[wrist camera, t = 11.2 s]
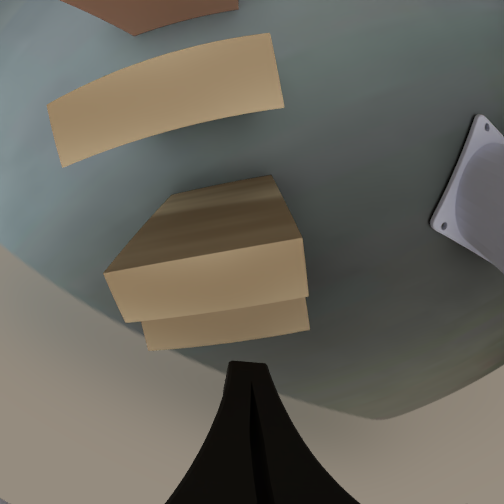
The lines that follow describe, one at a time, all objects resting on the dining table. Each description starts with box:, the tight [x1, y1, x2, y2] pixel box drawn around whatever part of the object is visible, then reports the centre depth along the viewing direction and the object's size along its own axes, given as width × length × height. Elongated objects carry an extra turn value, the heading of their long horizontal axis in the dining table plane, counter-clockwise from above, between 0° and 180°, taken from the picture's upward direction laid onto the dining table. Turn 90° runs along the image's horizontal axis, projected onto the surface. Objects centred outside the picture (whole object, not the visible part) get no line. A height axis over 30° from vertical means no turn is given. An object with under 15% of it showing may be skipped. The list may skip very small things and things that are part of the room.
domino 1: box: [141, 297, 310, 351], centre depth 12 cm, size 2×5×8 cm, turn 99°
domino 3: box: [47, 33, 284, 168], centre depth 8 cm, size 2×5×8 cm, turn 100°
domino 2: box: [103, 175, 309, 323], centre depth 11 cm, size 2×5×8 cm, turn 100°
